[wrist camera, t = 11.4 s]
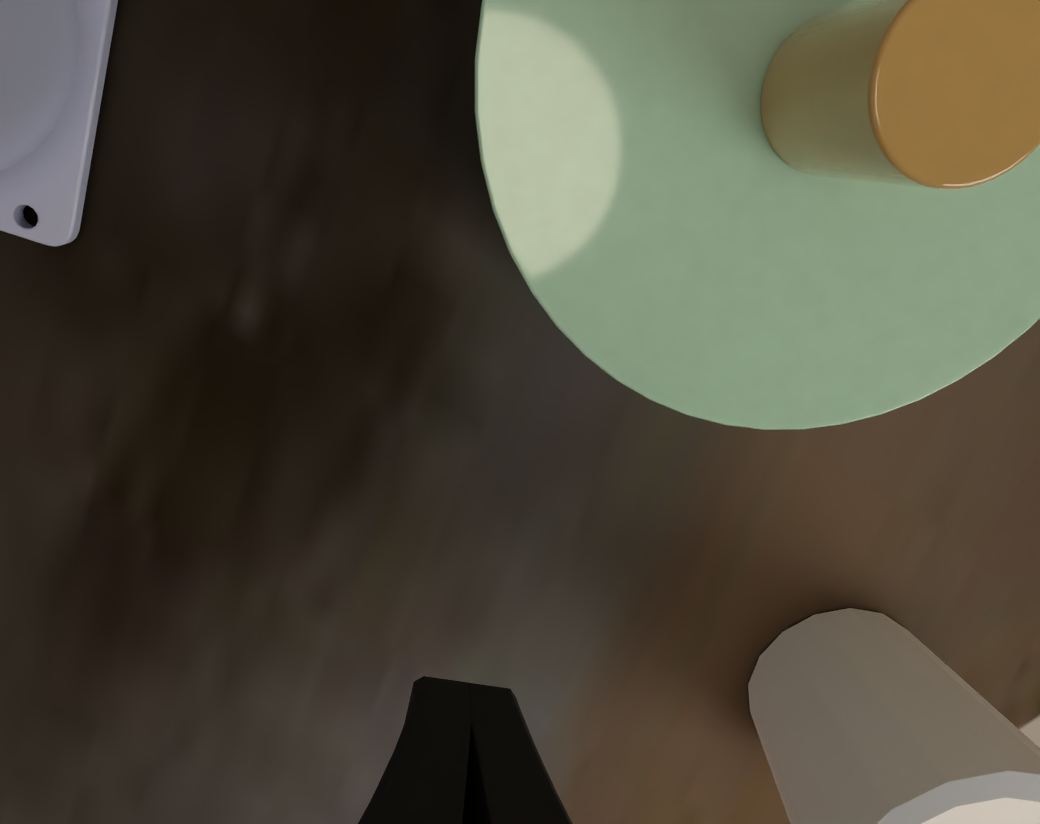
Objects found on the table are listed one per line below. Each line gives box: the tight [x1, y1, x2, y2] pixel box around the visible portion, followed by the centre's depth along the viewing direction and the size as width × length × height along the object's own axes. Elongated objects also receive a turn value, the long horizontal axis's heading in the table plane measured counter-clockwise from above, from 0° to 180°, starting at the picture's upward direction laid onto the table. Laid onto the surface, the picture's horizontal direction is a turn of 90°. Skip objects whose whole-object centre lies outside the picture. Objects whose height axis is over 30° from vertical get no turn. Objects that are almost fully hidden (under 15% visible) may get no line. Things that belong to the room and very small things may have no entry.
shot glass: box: [748, 608, 1040, 824], centre depth 20 cm, size 7×7×7 cm
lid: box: [474, 0, 1040, 429], centre depth 10 cm, size 11×11×4 cm
